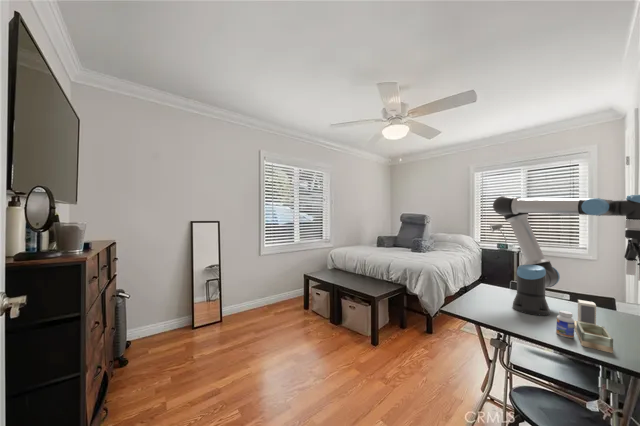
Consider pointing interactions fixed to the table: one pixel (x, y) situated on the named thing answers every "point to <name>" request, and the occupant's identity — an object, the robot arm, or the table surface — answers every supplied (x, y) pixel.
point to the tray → (594, 336)
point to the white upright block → (587, 312)
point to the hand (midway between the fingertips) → (636, 277)
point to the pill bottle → (565, 324)
